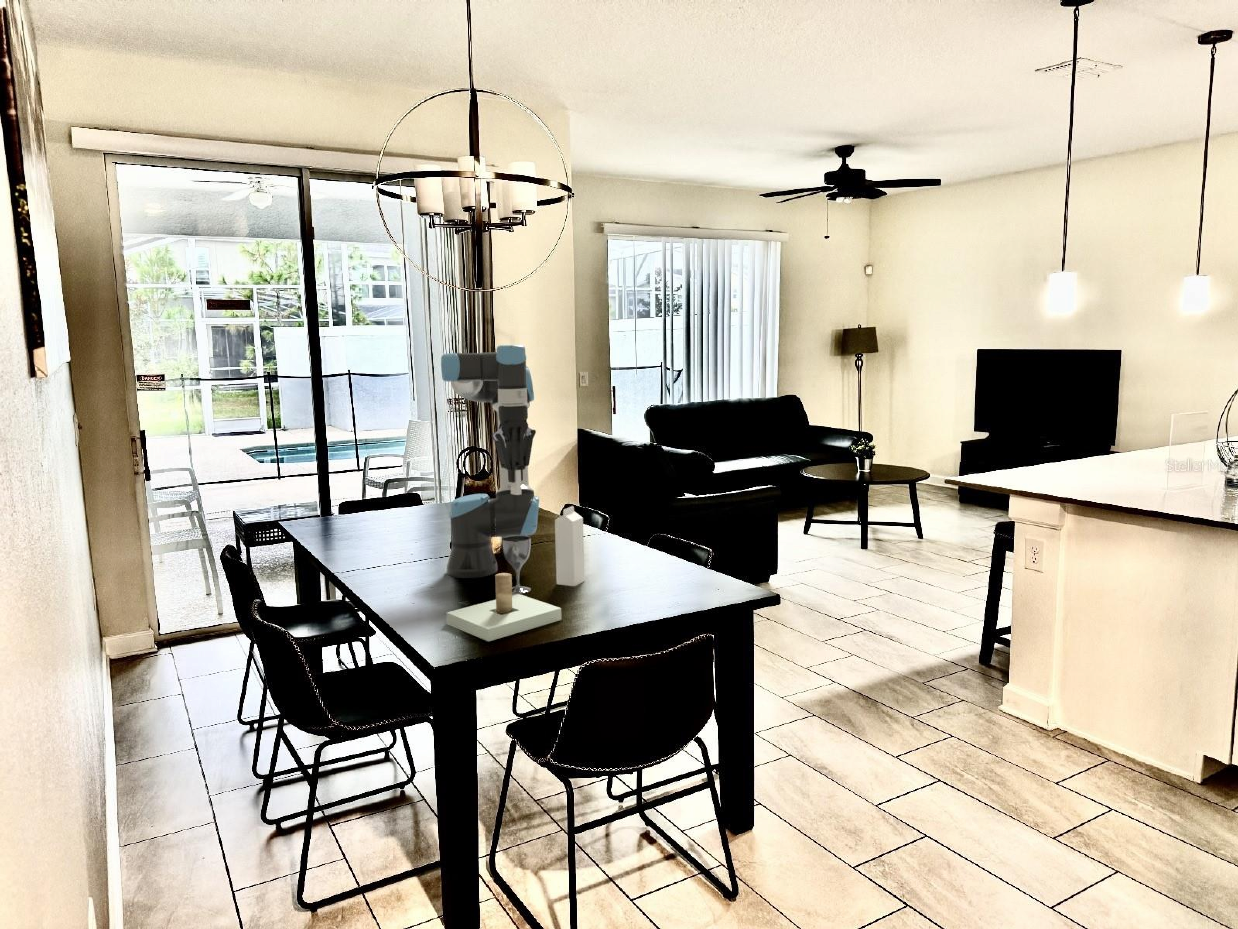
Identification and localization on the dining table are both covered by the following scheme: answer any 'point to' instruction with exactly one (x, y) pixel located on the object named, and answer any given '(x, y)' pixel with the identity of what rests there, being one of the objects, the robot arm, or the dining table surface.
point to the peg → (503, 593)
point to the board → (503, 618)
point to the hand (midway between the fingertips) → (516, 494)
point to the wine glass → (517, 556)
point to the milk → (569, 548)
